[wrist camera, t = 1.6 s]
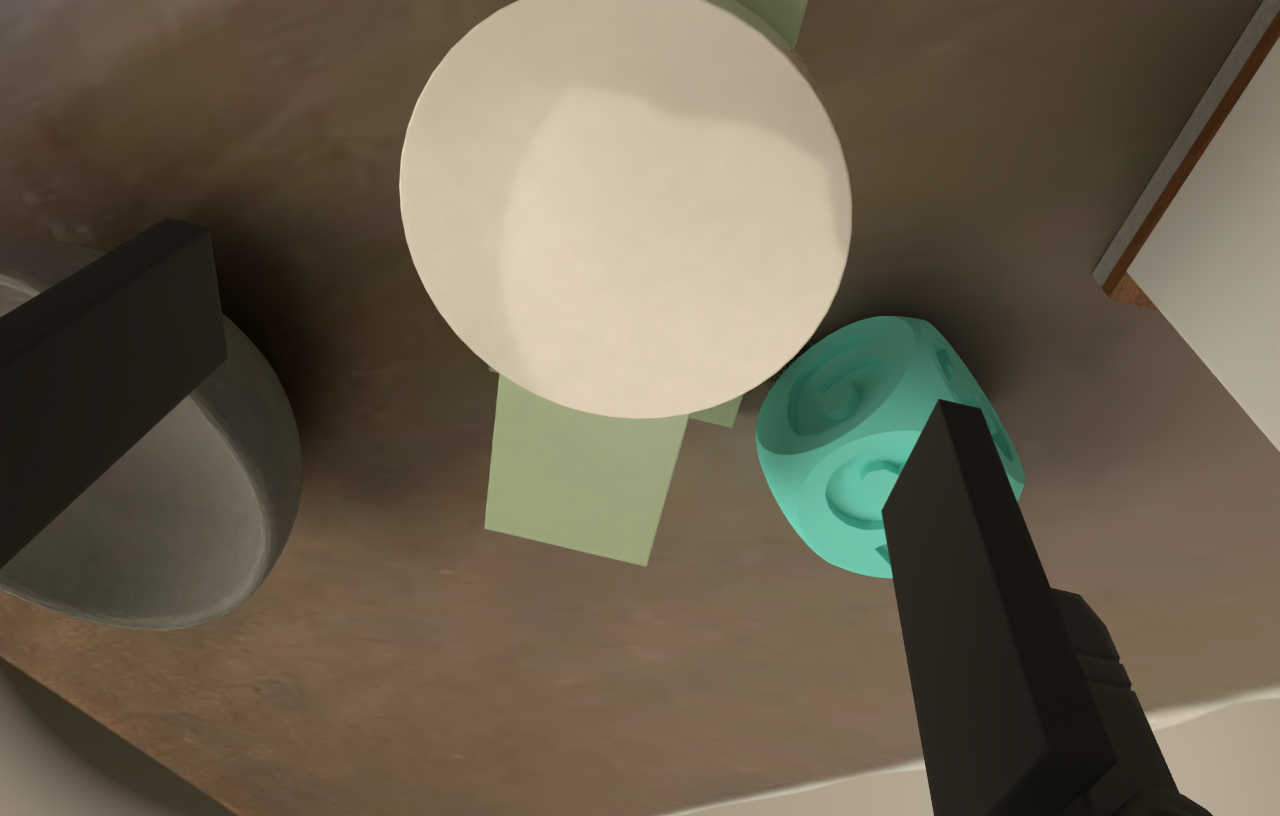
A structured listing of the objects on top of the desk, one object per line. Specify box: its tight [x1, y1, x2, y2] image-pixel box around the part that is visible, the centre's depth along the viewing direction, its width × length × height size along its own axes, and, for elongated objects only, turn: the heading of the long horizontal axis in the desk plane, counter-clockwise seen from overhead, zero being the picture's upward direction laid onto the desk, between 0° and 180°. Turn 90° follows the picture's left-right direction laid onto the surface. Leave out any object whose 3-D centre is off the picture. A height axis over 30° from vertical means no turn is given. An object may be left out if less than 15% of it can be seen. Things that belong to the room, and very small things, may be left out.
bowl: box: [0, 238, 303, 631], centre depth 37 cm, size 20×20×10 cm
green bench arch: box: [484, 0, 808, 566], centre depth 25 cm, size 28×12×12 cm, turn 169°
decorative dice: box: [755, 316, 1025, 578], centre depth 33 cm, size 8×8×8 cm
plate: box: [399, 0, 852, 419], centre depth 20 cm, size 11×11×2 cm
